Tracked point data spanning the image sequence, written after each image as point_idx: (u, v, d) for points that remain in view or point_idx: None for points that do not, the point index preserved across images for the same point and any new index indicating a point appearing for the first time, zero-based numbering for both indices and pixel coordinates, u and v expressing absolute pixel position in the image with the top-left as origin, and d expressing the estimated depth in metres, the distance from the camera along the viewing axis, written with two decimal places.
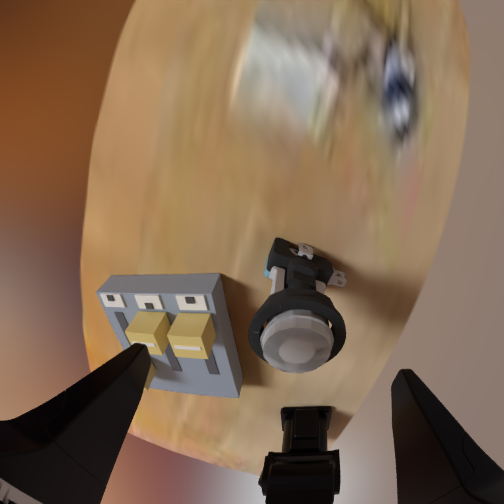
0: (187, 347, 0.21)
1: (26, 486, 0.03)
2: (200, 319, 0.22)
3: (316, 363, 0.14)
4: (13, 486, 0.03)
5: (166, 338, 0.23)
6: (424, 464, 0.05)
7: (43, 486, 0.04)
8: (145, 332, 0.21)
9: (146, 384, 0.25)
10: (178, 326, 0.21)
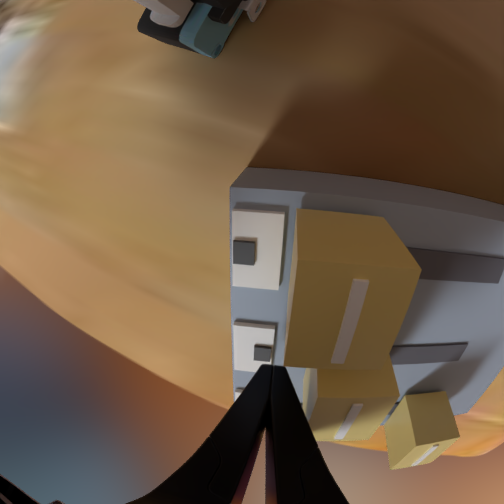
0: (349, 325, 0.06)
1: None
2: (294, 242, 0.07)
3: None
4: None
5: None
6: (269, 472, 0.06)
7: None
8: (312, 407, 0.07)
9: (447, 432, 0.08)
10: (287, 316, 0.07)
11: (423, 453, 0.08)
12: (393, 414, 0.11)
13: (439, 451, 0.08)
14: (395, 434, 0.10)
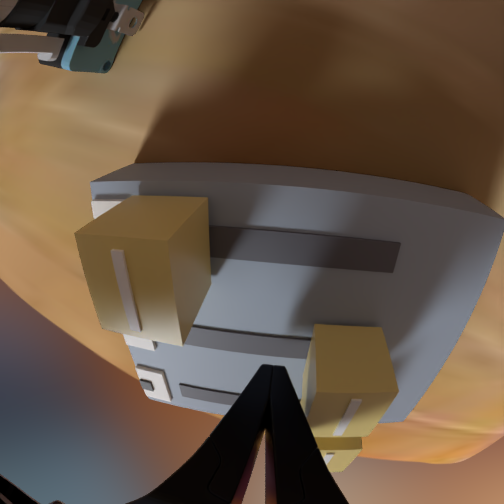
0: (129, 294, 0.06)
1: None
2: None
3: None
4: None
5: (372, 354, 0.08)
6: (268, 472, 0.06)
7: None
8: (311, 402, 0.07)
9: (346, 441, 0.09)
10: None
11: None
12: None
13: (342, 460, 0.09)
14: None
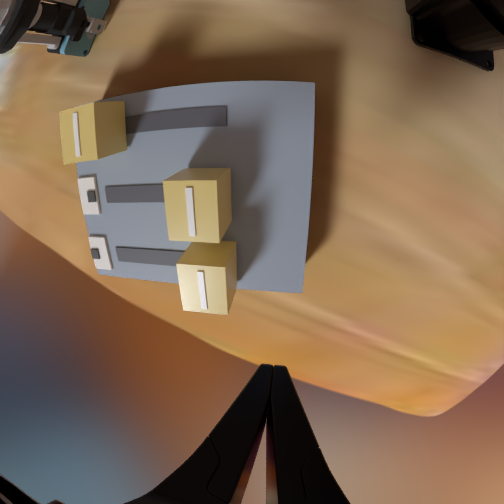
0: (77, 135, 0.11)
1: None
2: None
3: None
4: None
5: (212, 173, 0.13)
6: (270, 472, 0.06)
7: None
8: (165, 197, 0.12)
9: (213, 262, 0.14)
10: None
11: (197, 285, 0.14)
12: None
13: (217, 288, 0.14)
14: None
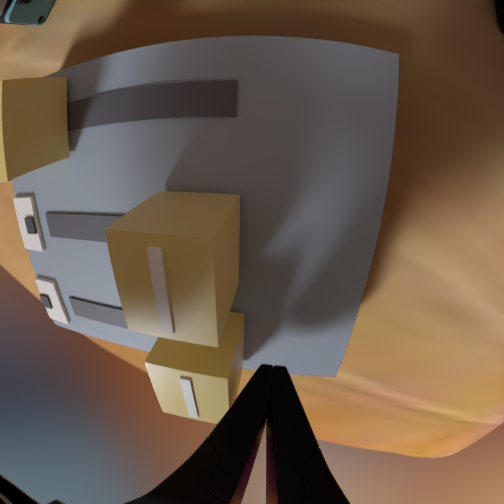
0: None
1: None
2: None
3: None
4: None
5: (204, 209, 0.07)
6: (269, 472, 0.06)
7: None
8: (114, 258, 0.06)
9: (208, 364, 0.07)
10: None
11: (182, 392, 0.08)
12: None
13: (213, 400, 0.08)
14: None
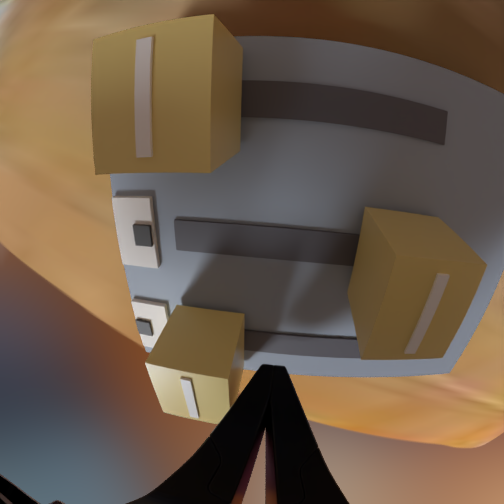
0: (146, 98, 0.04)
1: None
2: None
3: None
4: None
5: (441, 233, 0.06)
6: (269, 472, 0.06)
7: None
8: (383, 286, 0.05)
9: (208, 364, 0.07)
10: None
11: (182, 392, 0.08)
12: None
13: (214, 400, 0.08)
14: None
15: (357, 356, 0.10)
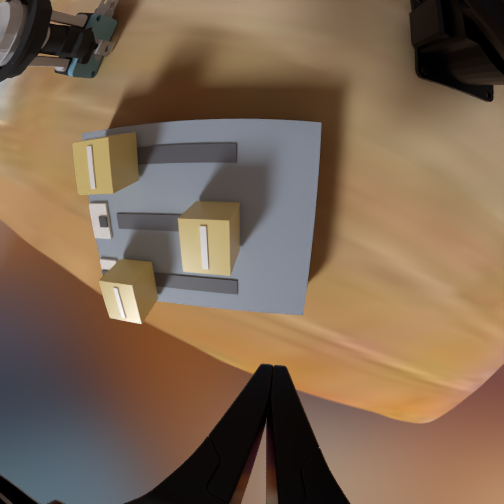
0: (92, 168, 0.12)
1: None
2: None
3: (3, 8, 0.05)
4: None
5: (223, 209, 0.14)
6: (269, 472, 0.06)
7: None
8: (180, 233, 0.13)
9: (126, 280, 0.15)
10: None
11: (115, 298, 0.16)
12: None
13: (129, 302, 0.16)
14: None
15: (220, 291, 0.18)
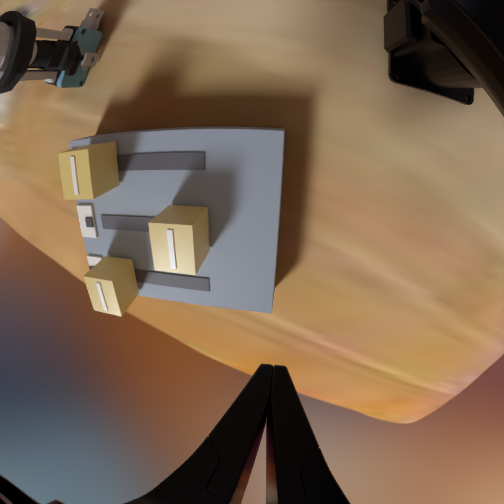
0: (75, 176, 0.13)
1: None
2: None
3: None
4: None
5: (190, 214, 0.15)
6: (269, 473, 0.06)
7: None
8: (151, 235, 0.14)
9: (107, 276, 0.17)
10: None
11: (98, 292, 0.17)
12: None
13: (110, 296, 0.17)
14: None
15: (193, 288, 0.19)
